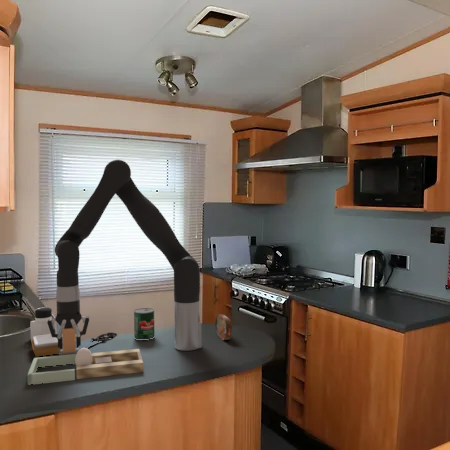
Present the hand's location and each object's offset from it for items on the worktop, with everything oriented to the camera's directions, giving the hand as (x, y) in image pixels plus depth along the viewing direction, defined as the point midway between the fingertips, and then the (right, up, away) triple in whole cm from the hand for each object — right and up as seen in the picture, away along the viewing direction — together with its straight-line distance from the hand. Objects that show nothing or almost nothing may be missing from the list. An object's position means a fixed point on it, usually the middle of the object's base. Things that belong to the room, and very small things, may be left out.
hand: (69, 347), depth 157 cm
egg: (+8, -5, -10) cm, 14 cm away
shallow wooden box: (+16, -4, -8) cm, 18 cm away
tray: (-1, -5, -13) cm, 14 cm away
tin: (+53, -2, +24) cm, 58 cm away
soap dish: (-11, -4, +8) cm, 14 cm away
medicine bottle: (-18, -3, +24) cm, 30 cm away
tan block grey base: (0, -4, 0) cm, 4 cm away
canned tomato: (+22, -3, +23) cm, 32 cm away
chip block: (+14, -5, -9) cm, 17 cm away
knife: (+4, -4, +16) cm, 17 cm away
